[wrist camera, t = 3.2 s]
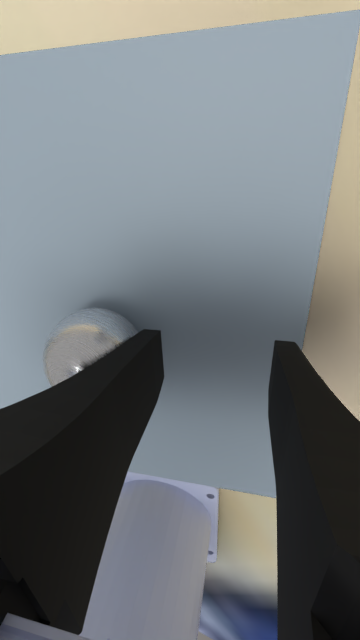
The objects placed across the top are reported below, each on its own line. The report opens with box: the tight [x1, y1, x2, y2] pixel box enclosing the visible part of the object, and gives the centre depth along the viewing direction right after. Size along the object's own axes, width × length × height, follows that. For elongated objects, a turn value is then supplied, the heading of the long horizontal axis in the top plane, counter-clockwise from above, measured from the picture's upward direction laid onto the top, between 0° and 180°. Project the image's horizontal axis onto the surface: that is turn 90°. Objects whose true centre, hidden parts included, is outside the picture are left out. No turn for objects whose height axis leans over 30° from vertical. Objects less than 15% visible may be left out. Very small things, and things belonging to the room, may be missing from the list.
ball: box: [42, 308, 138, 387], centre depth 11 cm, size 4×4×4 cm
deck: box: [0, 10, 360, 498], centre depth 15 cm, size 26×18×2 cm
